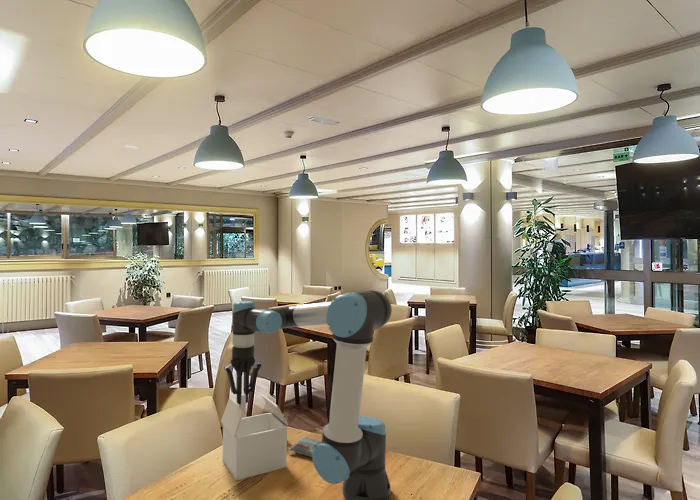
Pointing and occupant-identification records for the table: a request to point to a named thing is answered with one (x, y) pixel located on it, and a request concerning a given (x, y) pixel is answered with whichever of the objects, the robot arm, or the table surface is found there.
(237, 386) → the robot arm
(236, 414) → the flap left
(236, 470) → the carton
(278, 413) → the flap right
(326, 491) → the table surface
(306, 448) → the packaged food
